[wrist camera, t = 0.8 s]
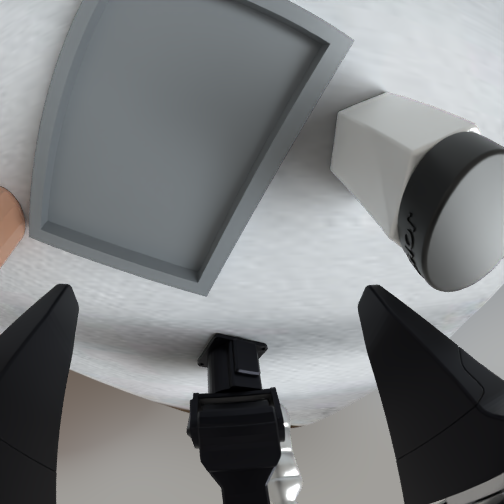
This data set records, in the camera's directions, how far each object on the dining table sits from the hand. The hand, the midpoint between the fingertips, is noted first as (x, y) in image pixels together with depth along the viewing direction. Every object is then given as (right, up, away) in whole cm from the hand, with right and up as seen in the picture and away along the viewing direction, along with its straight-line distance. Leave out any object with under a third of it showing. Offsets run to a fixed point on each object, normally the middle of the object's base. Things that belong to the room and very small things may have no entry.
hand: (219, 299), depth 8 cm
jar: (+11, +10, +12) cm, 19 cm away
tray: (-5, +10, +9) cm, 15 cm away
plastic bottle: (+4, -25, +37) cm, 44 cm away
